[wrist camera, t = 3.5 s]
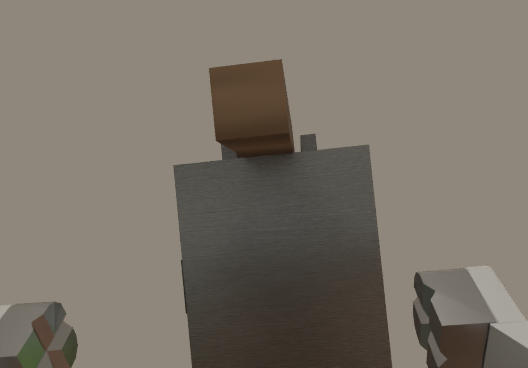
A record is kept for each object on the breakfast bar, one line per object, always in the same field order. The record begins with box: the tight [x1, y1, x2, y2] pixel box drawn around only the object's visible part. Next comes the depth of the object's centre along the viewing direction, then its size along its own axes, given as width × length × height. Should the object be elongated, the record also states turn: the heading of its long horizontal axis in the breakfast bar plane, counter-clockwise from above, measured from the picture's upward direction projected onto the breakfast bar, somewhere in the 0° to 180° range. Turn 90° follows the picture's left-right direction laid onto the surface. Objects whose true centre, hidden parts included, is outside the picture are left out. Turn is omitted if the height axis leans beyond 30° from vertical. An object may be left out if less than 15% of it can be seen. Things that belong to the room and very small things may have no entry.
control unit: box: [174, 134, 392, 368], centre depth 33 cm, size 12×13×27 cm
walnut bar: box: [209, 59, 295, 158], centre depth 28 cm, size 20×3×3 cm, turn 175°
